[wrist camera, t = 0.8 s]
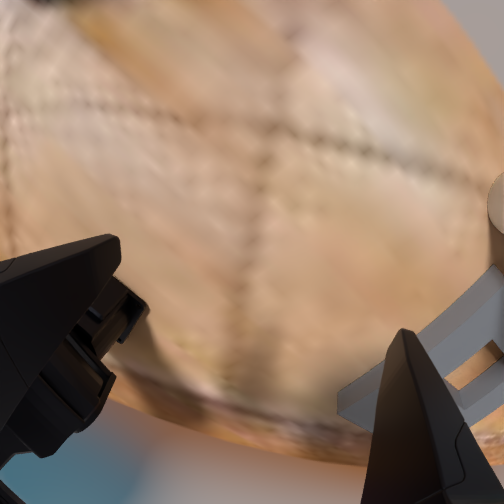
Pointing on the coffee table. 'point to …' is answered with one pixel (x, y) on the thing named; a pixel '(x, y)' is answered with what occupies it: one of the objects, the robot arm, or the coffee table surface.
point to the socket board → (448, 355)
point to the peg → (497, 203)
